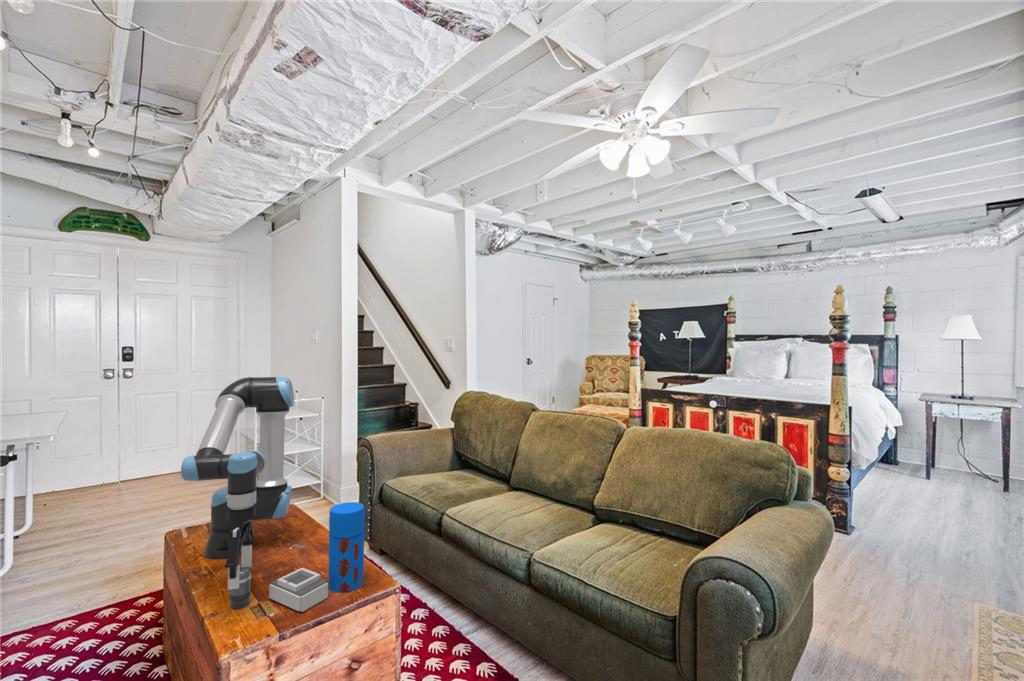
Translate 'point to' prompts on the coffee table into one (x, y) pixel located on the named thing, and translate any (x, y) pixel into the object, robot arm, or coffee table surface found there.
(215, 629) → the coffee table surface
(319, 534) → the coffee table surface
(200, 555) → the coffee table surface
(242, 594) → the lens
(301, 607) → the grey square frame
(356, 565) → the thermos
